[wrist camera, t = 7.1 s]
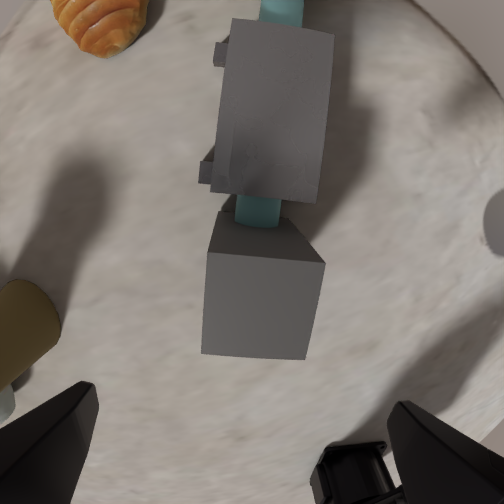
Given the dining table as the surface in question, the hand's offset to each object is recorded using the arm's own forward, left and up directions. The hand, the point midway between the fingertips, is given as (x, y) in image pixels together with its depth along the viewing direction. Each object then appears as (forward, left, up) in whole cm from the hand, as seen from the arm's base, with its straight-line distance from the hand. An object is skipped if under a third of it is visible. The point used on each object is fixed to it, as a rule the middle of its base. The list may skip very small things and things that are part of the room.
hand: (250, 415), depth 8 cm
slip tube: (0, -11, -12) cm, 16 cm away
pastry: (+11, -17, -12) cm, 24 cm away
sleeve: (0, -9, -12) cm, 15 cm away
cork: (+16, +5, -12) cm, 21 cm away
